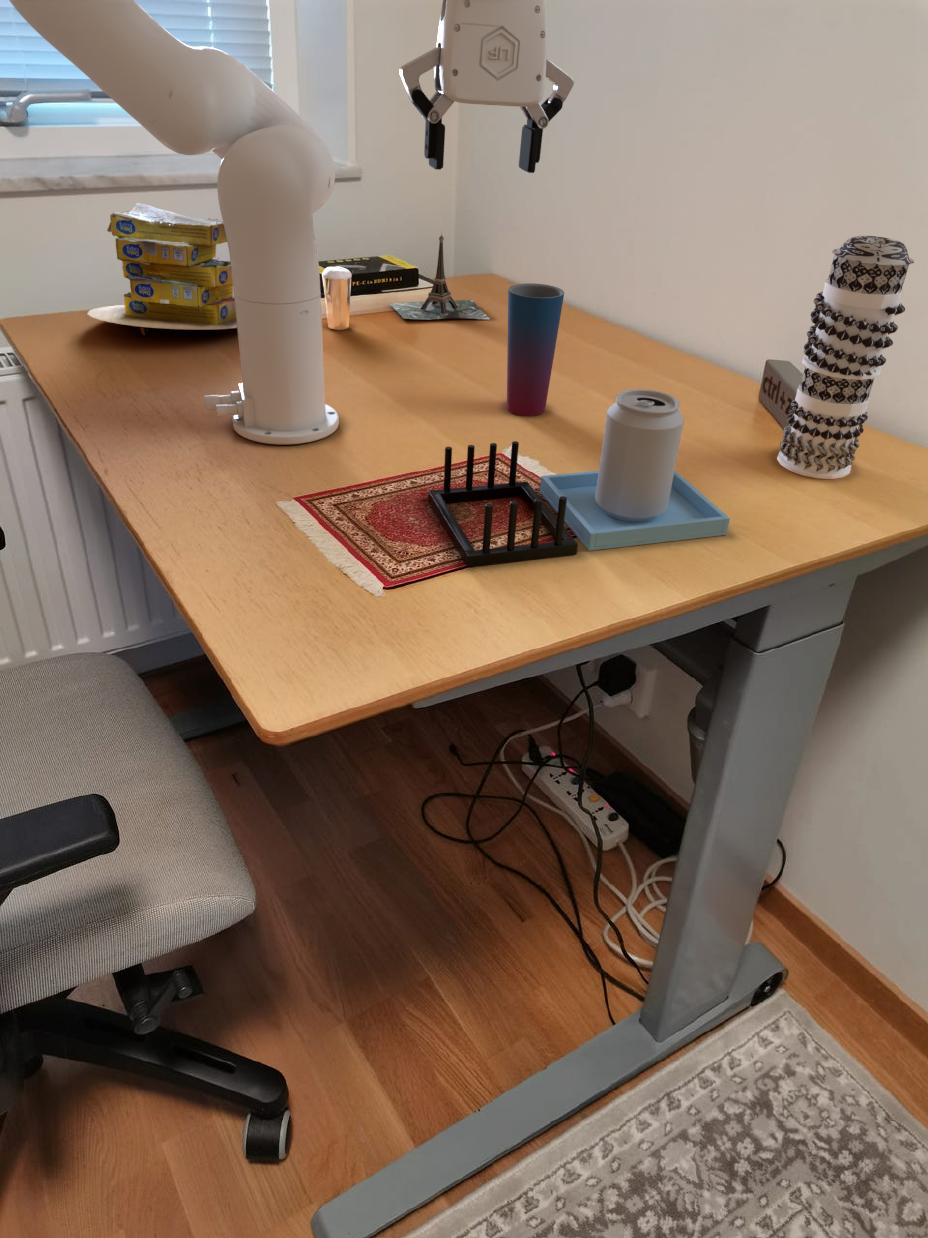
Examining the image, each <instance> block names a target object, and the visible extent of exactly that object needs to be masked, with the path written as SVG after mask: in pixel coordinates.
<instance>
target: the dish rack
mask: <svg viewBox="0 0 928 1238" xmlns="http://www.w3.org/2000/svg"><path fill="white" fill-rule="evenodd" d="M519 445H520V443H519V441H516V440H513V441H512V442H511V449H510V450H511V452H510V461H509V463H510V464H509V477H508V482H507V483H496V484H495V477H496V476H495V475H496V462H497V448H498V444H497V443H496V442H490V444H489V452H488V453H489V455H488V468H487V469H488V471H487V484H485V485H484V484H483V485H476V486H473V485H474V484H473V481H474V465H475V463H474V462H475V450H476V449H475V445H474V444H468V445H467V453H466V471H465V472H466V473H465V486H463V487H453V488H452V487H451V482H452V460H453V459H452V458H453V447H452V446H445V448H444V467H443V470H444V471H443V488H442V489H431V490H428V491H427V501H428V504H429V505H430V507H431V508H432V510H433V511H434V513H435V515H436V517H437V518H438V520H439V522H440V524H441V525H442V527H443V529H444V530H445V532H446V534H447V535H448V537H449V539H450V540H451V542H452V545H454V547H455V549H456V550H457V552H458V554H459V555H460V557H461V560H463V562H464V564H465V566H466V567H467V568H472V567H473V568H474V567H482V566H490V565H498V564H507V563H516V562H524V561H525V562H526V561H533V560H541V559H549V558H559V557H566V556H575V555H577V554H578V548H579V543H578V542H577V540H576V539H575V538H574V537H573V535H571V533H569V531H568V530H567V529H566V527H565V522H564V519H565V511H566V503H567V497H565V496H561V497H560V498H559V506H558V513H556V514H557V516H556V515H555V514H554V513H553V511H552V510H551V509H550V507H548V505H547V503H545V502H544V501H543V499H542V498H541V496H539V494H538V493H537V492H536V491H535V490H534V488H533V487H532V485H531V484H529V482H528V481H516V480H517V470H518V469H517V468H518V457H519ZM513 497H514V498H515V497H521V499H522V500H523V501H524V502H525V503H526V505H527V506H528V507H529V509H530V510H531V511H532V513H533V516H532V517H533V518H532V519H533V520H532V528H531V538H530V543H528V544H519V545H515V543H516V530H517V519H518V509H519V501H516V500H514V501H513V500H512V501H510V503H509V515H508V526H507V538H506V546H500V547H494V548H492V547H491V542H492V541H491V540H492V539H491V538H492V525H493V514H494V513H493V511H494V510H493V509H494V505H493V504H492V503H485V505H484V517H483V519H484V520H483V533H482V548H481V549H475V548H474V546H473V545H472V543H471V542H470V540H469V538H468V537H467V535H466V533H465V532H464V531H463V529H462V527H461V526H460V523H459V522H458V521H457V519H456V518H455V516H454V514H453V513H452V511H451V509H450V508H449V506H448V505H447V504H453V503H462V502H472V501H473V502H474V501H484V500H494V499H504V498H513ZM541 524H542V525H543V527H544V528H545V529H546V530H547V532H548V533H549V534H550V535H551V536H552V538H553V539H554V541H545V542H539V541H540V531H541Z"/></svg>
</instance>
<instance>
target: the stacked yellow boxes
mask: <svg viewBox="0 0 928 1238" xmlns="http://www.w3.org/2000/svg"><path fill="white" fill-rule="evenodd" d="M109 218H110V219H109V221H110V222H109V225H108V227H107V230H106V232H109V233H111V235H112V236H113V237H116V238H115V251H116V252H115V253H116V259H117V260H118V261H121V262H122V266H121V268H122V269H121V270H122V273H123V277H124V279H128V280H129V288H130V291H128V292H127V293H124V294H123V302H124V304H115V305H109V306H108V305H107V306H101V307H96V308H92V309H90V310H88V311H87V315H88V316H89V317H90V318H93V319H96V320H99V321H101V322H107V323H112V324H113V323H114V324H117V325H118V324H119V325H123V326H124V325H125V326H132V327H139V329H140V333H141V334H142V335H143V336H146V333H145V332H146V331H149V330H148V329H145V328H152V329H167V330H168V329H169V330H206V331H207V330H228V329H237V319H236V308H235V297H234V291H233V280H232V271H231V262H230V261H229V260H226V261H225V260H219V259H220V258H219V257H217V259H215V258H216V256H217V255H216V254H217V245H221V244H225V243H228V242H227V237H226V232H225V228H224V224H223V220H219V219H218V218H213V219H211V218H207V219H205V218H201V217H200V218H199V217H192V216H187V215H184V214H181V213H177V212H174V211H170V210H166V209H161V208H157V206H154V205H149V204H147V203H144V202H137V203H135V204H134V206H133V207H132V208H131V210H130V211H129V210H128V211H122V212H115V211H113V212H112V213H111V214H110V217H109Z"/></svg>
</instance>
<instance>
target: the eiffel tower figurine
mask: <svg viewBox="0 0 928 1238" xmlns="http://www.w3.org/2000/svg"><path fill="white" fill-rule="evenodd" d="M438 241H439V243H438V244H439V245H438V246H439V247H438V256H437V265H436V273H435V278H433V279H434V281H433V285H432V288H431V291H430V292H428V294H427V297H426V298H425V301H424V300H422V301H405V302H393V303H389V304H390V306H391V307H392V308H393V310H395V311H396V312H397V313H398V315H399V316H401V318H402V319H406V320H407V319H409V320H441V319H443V320H448V319H469V320H470V319H471V320H489V321H490V320H491V318H490V317H489V316H488V315H487V314H486V313H485V312H484V311H483V310H482V308H480V307H479V306H478V305H477V303H476V302H475V301H473V300H472V299H457V300H455V299H453V297H452V292H451V291H449V289H448V284H447V281H446V280H447V278H446V275H445V265H444V236H443V229H442V228H441V231H440V236H439V238H438Z"/></svg>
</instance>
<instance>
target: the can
mask: <svg viewBox="0 0 928 1238" xmlns="http://www.w3.org/2000/svg"><path fill="white" fill-rule="evenodd" d="M680 407H681V402H680V401H679V400H678V399H677V397H675V396H673V395H672V394H669V393H666V392H663V391H659V390H654V389H648V388H647V389H644V388H635V389H634V388H633V389H632V388H631V389H626V390H623V391H621V392H618V394H617V395H616V396H615V402H613V404H611V405H610V406H609V407H608V408H607V410H606V417H605V423H604V432H603V438H602V446H601V452H600V453H601V454H600V461H599V467H598V471H599V473H598V480H597V487H596V494H595V500H596V502H597V503H598V505H599V506H600V507H601V508H602V509H603V511H604V512H605V513H606V514H608V515H609V516H611V517H613V518H616V519H619V520H623V521H628V522H645V521H649V520H652V519H654V518H655V517H657V516H658V515H660V514H662V513H663V512H665V511H666V509H667V507H668V502H669V497H670V491H671V486H672V481H673V476H674V471H676V466H677V460H678V455H679V449H680V444H681V439H682V434H683V430H684V429H683V428H684V423H685V419H684V415H683V414H682V412H681V410H679V409H680Z"/></svg>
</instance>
